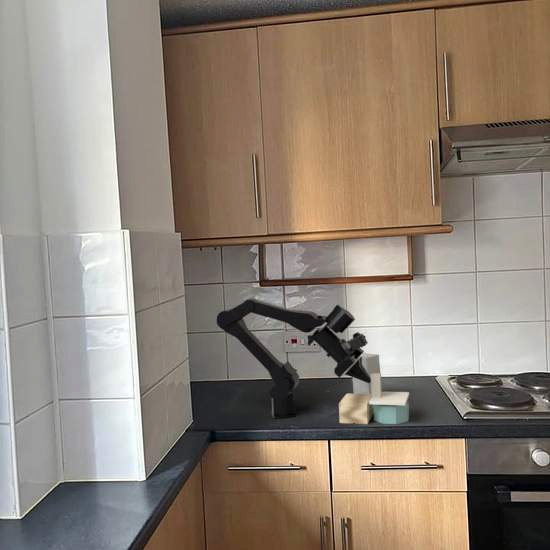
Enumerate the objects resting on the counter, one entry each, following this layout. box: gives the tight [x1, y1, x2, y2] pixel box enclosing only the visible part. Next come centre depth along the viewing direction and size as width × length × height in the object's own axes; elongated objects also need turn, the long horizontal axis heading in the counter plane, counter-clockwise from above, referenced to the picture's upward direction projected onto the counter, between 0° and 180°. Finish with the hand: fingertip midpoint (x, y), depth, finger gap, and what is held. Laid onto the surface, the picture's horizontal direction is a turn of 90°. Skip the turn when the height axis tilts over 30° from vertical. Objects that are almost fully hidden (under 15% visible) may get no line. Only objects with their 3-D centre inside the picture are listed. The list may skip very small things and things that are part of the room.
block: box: [338, 393, 374, 425], centre depth 174 cm, size 8×12×6 cm, turn 162°
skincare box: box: [351, 352, 383, 394], centre depth 195 cm, size 8×6×15 cm
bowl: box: [373, 400, 410, 425], centre depth 171 cm, size 10×10×5 cm
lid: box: [369, 372, 410, 405], centre depth 171 cm, size 10×12×7 cm
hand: (370, 381), depth 172 cm, fingers closed, pressing on lid
